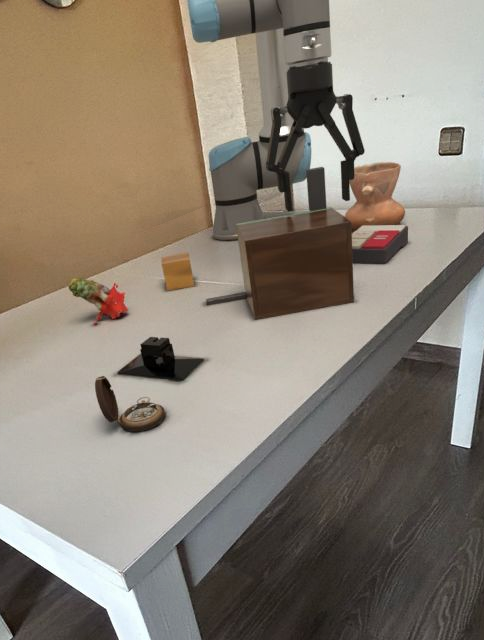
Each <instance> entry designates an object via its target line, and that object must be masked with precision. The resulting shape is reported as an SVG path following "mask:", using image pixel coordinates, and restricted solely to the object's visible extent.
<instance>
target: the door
mask: <svg viewBox="0 0 484 640" xmlns="http://www.w3.org/2000/svg"><path fill="white" fill-rule="evenodd" d="M306 174H307V178H306V187H307V199H308V201H307V202H308V210H305V211H300V212H295V213H288V214H283V215H279V216H272V217H267V218H266V217H265V219H261V220H255V221H250V222H244V223H239V224H236V227H237V226H238V225H244V224H249V223H255V222H260V221H266V220H272V219H277V218H283V217H288V216H294V215H299V214H305V213H310V212H316V211H321V210H327V209H332V208H333V207H332V206H328V207H327V191H326V189H327V188H326V174H325V167H323V166H319V167H318V166H317V167H312V168H310V169H307V170H306ZM237 234H238V230H237ZM237 240H238V242H237V243H238V247H239V250H240V244H239V237H238V239H237ZM239 255H240V257H241V252H240V251H239ZM240 263H241V269H242V270H241V271H242V272H243V266H242V259H241V258H240ZM242 277H243V279H244V274H243V273H242ZM243 285H244V286H245V281H244V280H243ZM244 292H246V288H245V287H244Z"/></svg>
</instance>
